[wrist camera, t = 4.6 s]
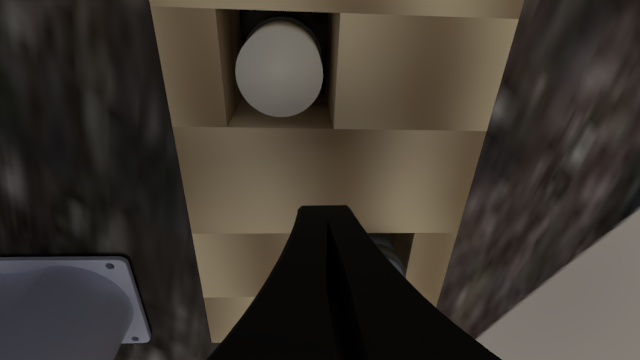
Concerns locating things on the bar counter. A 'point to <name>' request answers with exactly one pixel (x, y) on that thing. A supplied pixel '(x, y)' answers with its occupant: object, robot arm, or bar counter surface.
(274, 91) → the white peg
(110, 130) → the bar counter surface
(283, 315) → the robot arm
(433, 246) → the beech block
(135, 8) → the bar counter surface
